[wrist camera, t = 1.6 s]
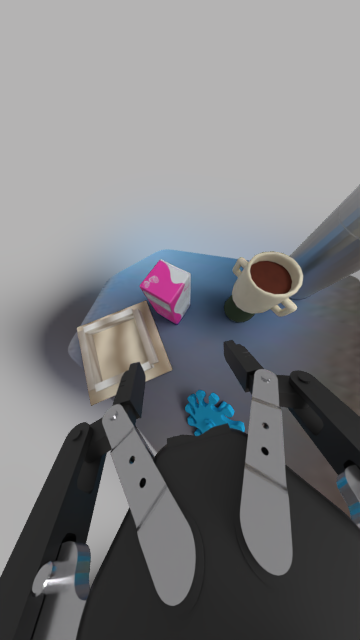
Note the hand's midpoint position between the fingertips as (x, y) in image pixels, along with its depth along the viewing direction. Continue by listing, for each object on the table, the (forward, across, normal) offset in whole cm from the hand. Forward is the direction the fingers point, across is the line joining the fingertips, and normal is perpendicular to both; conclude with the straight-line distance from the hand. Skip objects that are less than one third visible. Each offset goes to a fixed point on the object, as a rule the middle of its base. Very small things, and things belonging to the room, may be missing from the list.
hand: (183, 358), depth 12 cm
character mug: (+16, -14, +5) cm, 22 cm away
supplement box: (+19, 0, +3) cm, 19 cm away
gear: (+3, -2, +18) cm, 19 cm away
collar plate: (+14, +12, +7) cm, 20 cm away
